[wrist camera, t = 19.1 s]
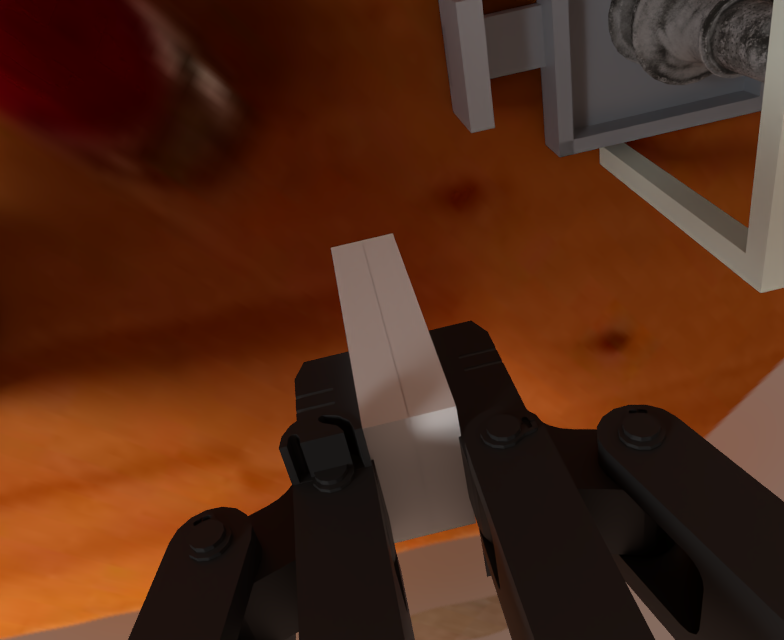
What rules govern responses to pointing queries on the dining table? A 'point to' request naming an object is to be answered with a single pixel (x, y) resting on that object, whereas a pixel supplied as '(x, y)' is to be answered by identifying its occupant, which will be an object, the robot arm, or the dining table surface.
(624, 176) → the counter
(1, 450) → the dining table surface
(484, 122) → the tray
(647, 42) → the dark grey tall piece
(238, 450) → the dining table surface
